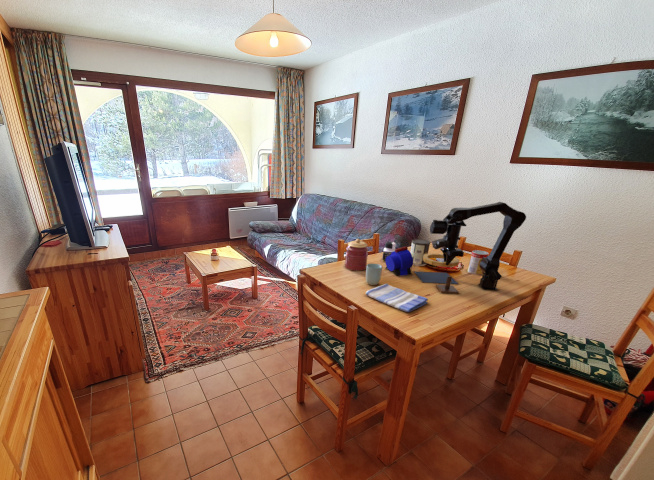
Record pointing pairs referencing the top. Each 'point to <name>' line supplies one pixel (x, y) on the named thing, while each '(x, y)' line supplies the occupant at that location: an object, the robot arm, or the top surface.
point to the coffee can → (419, 251)
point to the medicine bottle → (388, 250)
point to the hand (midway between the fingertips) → (446, 264)
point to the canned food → (476, 261)
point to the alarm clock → (400, 261)
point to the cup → (373, 273)
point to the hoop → (438, 263)
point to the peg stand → (447, 287)
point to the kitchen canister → (356, 255)
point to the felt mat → (434, 277)
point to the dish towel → (397, 297)
